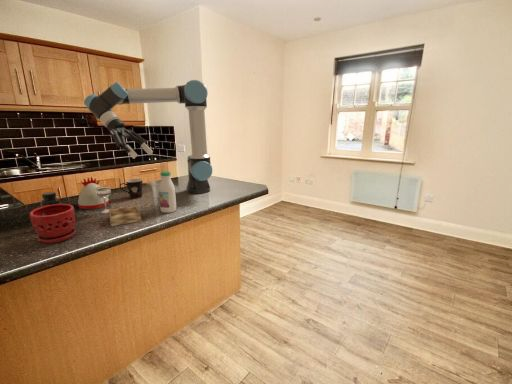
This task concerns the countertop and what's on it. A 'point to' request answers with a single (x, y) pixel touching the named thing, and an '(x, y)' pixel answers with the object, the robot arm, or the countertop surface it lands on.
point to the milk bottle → (167, 193)
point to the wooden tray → (124, 215)
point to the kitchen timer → (90, 196)
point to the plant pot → (54, 222)
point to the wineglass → (103, 195)
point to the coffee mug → (134, 188)
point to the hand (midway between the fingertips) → (143, 155)
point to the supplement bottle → (49, 200)
